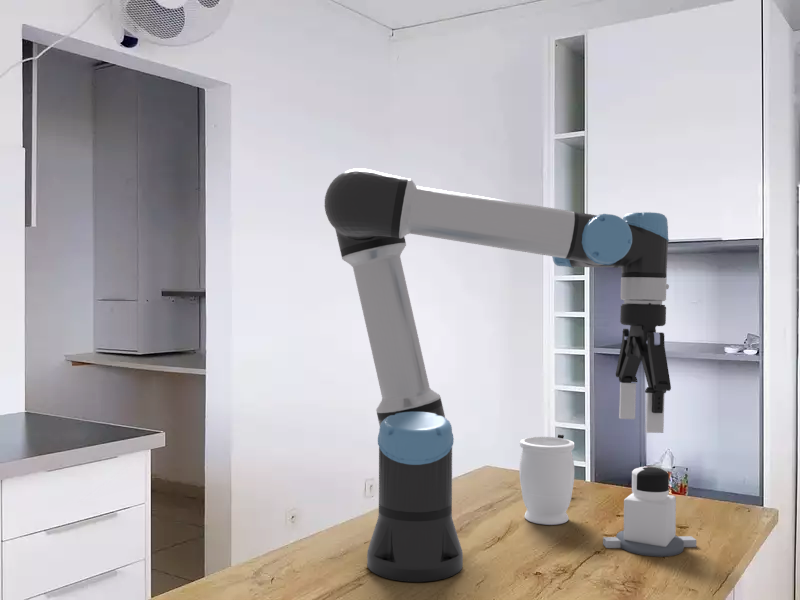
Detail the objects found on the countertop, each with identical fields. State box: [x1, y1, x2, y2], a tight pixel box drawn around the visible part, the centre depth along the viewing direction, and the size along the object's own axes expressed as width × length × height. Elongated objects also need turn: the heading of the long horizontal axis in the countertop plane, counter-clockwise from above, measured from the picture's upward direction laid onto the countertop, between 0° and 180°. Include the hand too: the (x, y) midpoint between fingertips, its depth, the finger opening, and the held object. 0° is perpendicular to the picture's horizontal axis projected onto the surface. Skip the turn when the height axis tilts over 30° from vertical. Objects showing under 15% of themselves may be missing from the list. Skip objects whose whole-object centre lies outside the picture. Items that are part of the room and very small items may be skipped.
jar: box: [518, 436, 575, 526], centre depth 148 cm, size 11×10×15 cm
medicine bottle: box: [623, 466, 677, 547], centre depth 132 cm, size 7×7×12 cm
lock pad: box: [602, 530, 697, 557], centre depth 134 cm, size 16×13×1 cm
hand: (640, 425), depth 134 cm, fingers open, 13 cm apart
